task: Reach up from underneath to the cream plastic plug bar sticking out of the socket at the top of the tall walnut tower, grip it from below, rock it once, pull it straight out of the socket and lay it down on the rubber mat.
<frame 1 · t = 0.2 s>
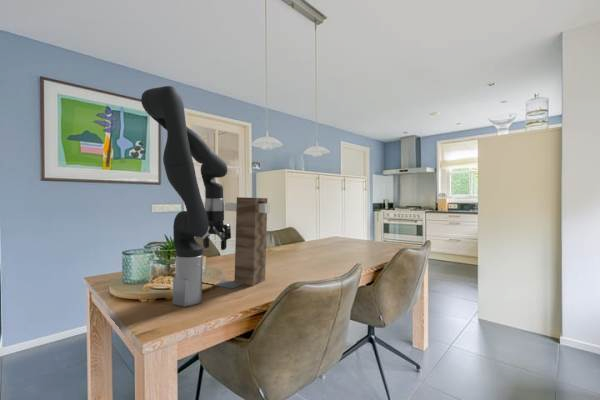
hand: (214, 248, 115), 17 cm above the table, tool pointing down, fingers open, 8 cm apart
plug bar: (246, 211, 129), point 32 cm above the table, touching socket tower
mat: (214, 282, 126), on the table
socket tower: (250, 281, 129), on the table
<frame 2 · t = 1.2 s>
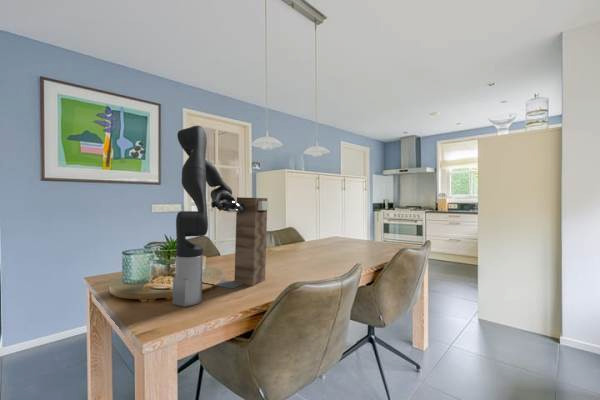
hand: (231, 210, 112), 33 cm above the table, tool horizontal, fingers open, 7 cm apart
plug bar: (246, 211, 130), point 32 cm above the table, tilted 6°, touching arm, socket tower
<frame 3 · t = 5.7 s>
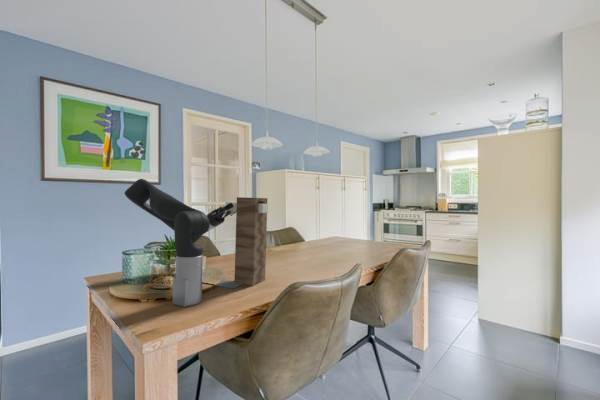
hand: (237, 204, 132), 35 cm above the table, tool pointing upward, fingers open, 6 cm apart
plug bar: (245, 211, 130), point 32 cm above the table, touching socket tower
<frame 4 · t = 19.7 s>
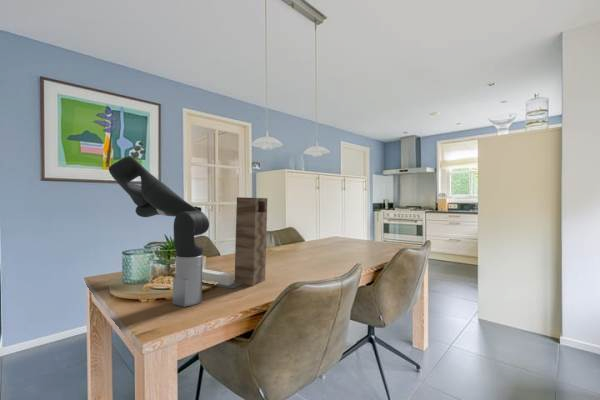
hand: (194, 209, 131), 32 cm above the table, tool horizontal, fingers open, 8 cm apart
plug bar: (211, 280, 126), resting on mat
at the end: plug bar resting on mat; plug bar inside the target area on the mat (1.8 cm from its centre), point 0.4 cm above the mat's base; the gripper is holding nothing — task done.
